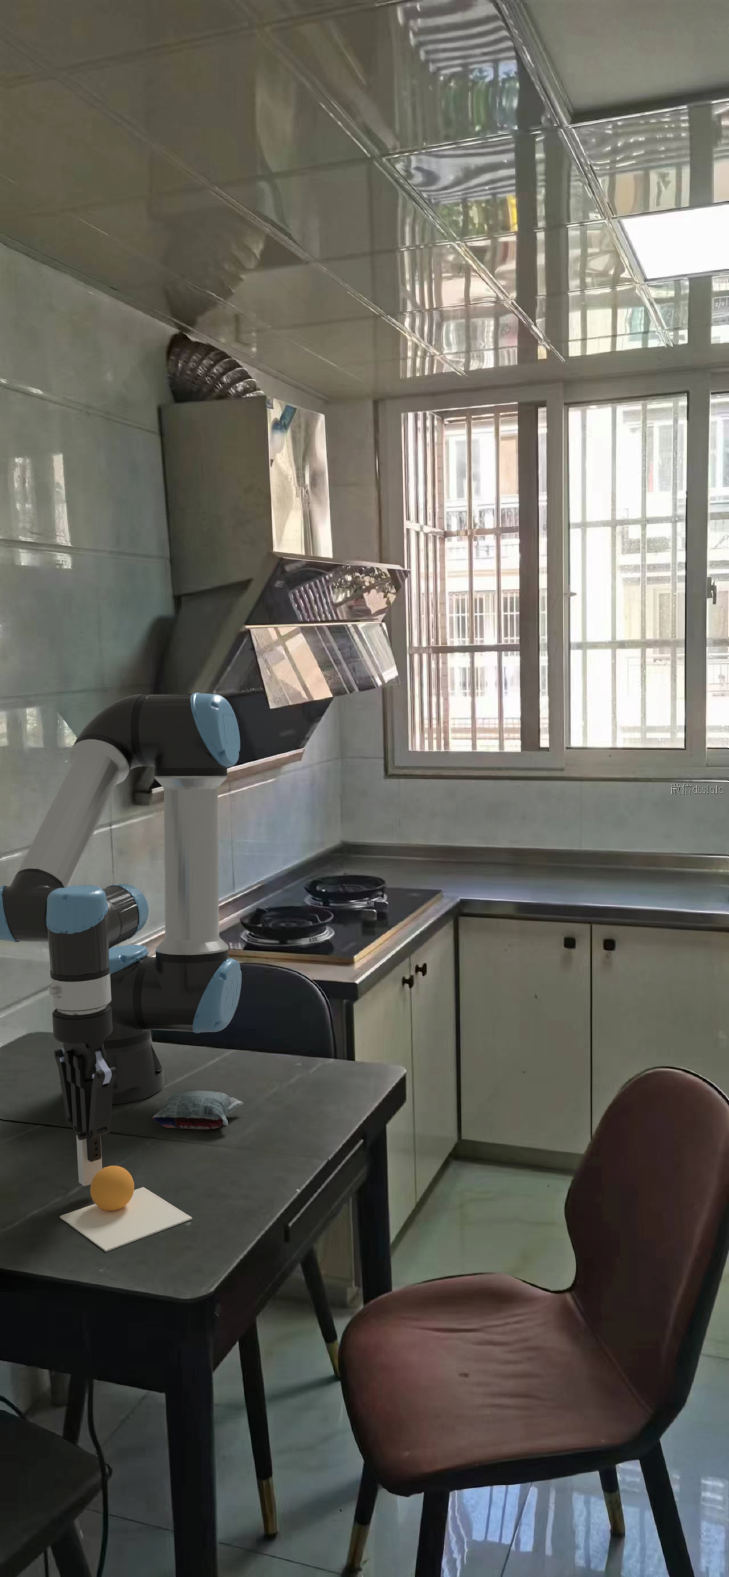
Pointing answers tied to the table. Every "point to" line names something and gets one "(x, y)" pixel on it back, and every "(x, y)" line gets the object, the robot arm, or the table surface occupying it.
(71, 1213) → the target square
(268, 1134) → the table surface
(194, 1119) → the packaged food
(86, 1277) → the table surface
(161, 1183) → the table surface
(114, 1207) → the ball
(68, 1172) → the table surface
